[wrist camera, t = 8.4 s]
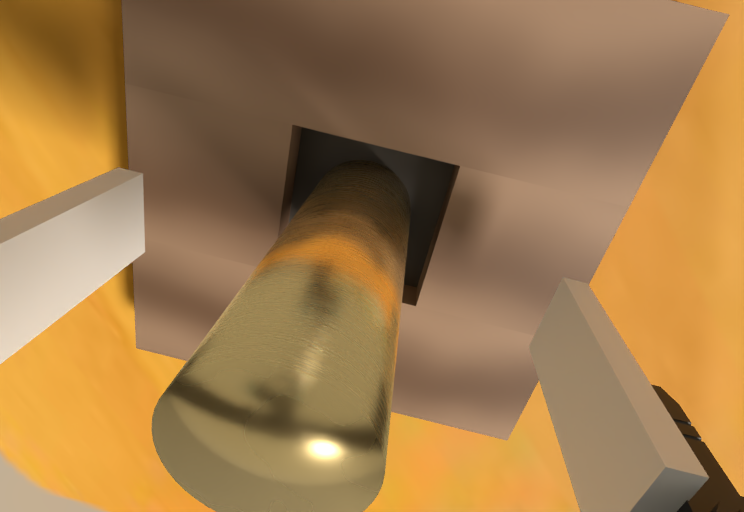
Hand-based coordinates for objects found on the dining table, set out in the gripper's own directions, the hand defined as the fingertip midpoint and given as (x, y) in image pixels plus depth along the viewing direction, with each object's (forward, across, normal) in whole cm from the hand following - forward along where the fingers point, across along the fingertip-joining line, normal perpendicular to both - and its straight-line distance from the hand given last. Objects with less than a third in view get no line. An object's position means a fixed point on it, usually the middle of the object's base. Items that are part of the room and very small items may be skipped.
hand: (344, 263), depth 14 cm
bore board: (+5, 0, 0) cm, 5 cm away
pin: (+5, 0, 0) cm, 5 cm away
